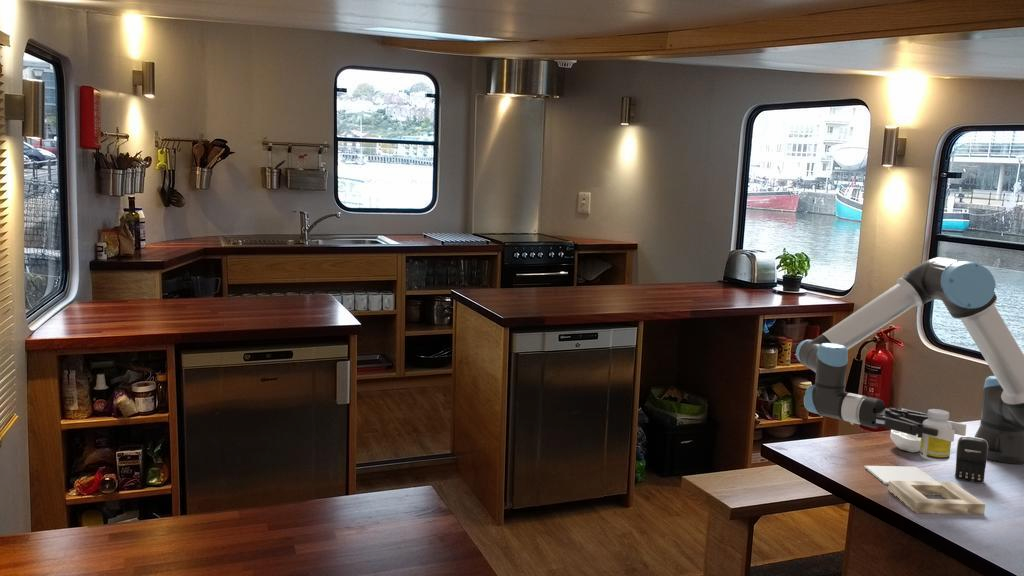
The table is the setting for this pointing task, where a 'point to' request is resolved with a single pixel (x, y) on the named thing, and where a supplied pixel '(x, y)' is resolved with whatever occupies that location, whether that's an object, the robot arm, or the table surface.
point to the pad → (898, 473)
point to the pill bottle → (935, 446)
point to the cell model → (906, 441)
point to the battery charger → (971, 459)
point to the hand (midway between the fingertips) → (959, 433)
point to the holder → (953, 504)
